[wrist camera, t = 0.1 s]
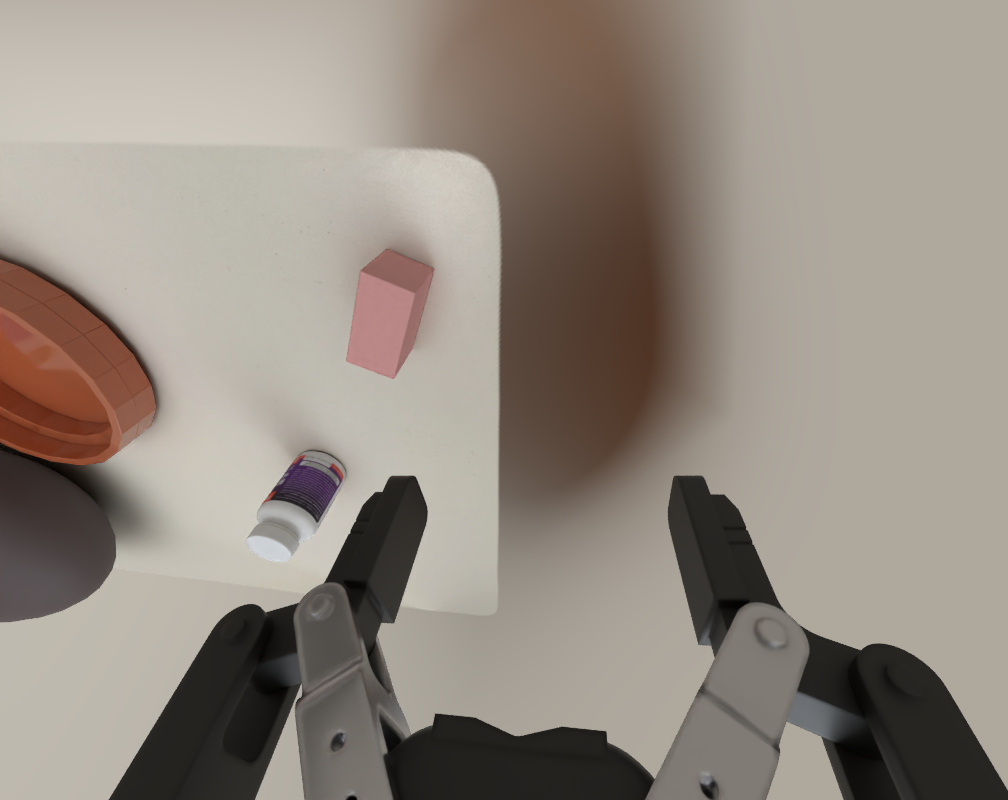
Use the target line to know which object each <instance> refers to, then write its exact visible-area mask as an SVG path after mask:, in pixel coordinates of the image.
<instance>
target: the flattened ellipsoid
mask: <svg viewBox="0 0 1008 800" xmlns="http://www.w3.org/2000/svg"><path fill="white" fill-rule="evenodd" d="M115 558H116V542H115V535H114V533H113V530H112V528H111V525H110V523H109V521H108V518H107V516H106V515H105V514H104V512H103V511H102V510H101V508H100V507H99V506H98V505H97V504H96V503H95V501H94V500H93V499H92V498H91V497H90V496H89V495H88V494H87V493H86V492H85V491H83V490H82V489H81V488H80V487H79V486H77V485H76V484H74V483H73V482H72V481H70V480H69V479H67V478H66V477H64V476H62V475H60V474H59V473H57V472H55V471H54V470H52V469H50V468H48V467H45V466H43V465H41V464H39V463H37V462H34V461H32V460H29V459H27V458H23V457H20V456H17V455H14V454H11V453H8V452H4V451H1V450H0V622H13V621H20V620H25V619H32V618H39V617H43V616H46V615H50V614H53V613H56V612H59V611H62V610H65V609H67V608H68V607H70V606H72V605H74V604H76V603H78V602H80V601H82V600H84V599H86V598H88V597H89V596H90V595H91V594H92V593H94V592H95V591H96V590H97V589H99V588H100V586H101V585H102V584H103V582H104V581H105V579H106V578H107V577H108V575H109V574H110V572H111V570H112V568H113V565H114V562H115Z"/></svg>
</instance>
